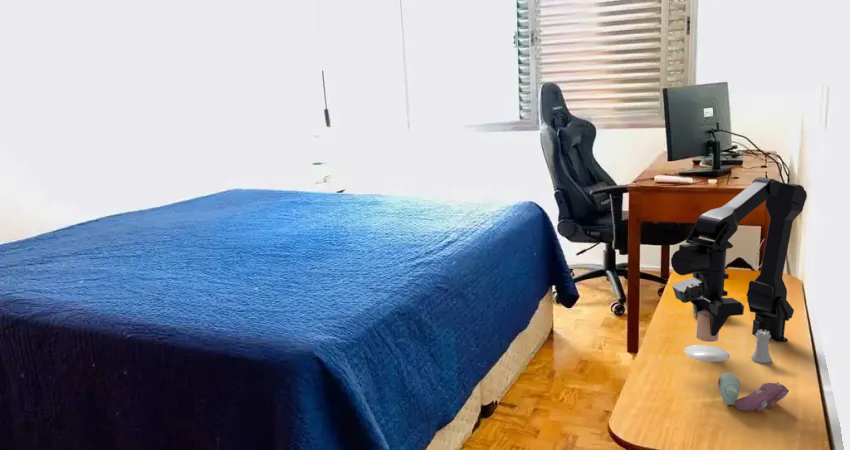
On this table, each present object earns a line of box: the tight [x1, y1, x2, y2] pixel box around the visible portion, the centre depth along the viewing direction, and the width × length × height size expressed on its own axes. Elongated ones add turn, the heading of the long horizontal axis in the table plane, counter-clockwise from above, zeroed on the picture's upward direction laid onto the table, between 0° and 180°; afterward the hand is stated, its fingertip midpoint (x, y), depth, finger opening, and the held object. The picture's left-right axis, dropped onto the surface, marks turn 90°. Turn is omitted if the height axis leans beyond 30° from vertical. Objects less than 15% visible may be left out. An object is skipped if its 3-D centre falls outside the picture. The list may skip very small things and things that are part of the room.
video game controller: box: [734, 381, 790, 413], centre depth 135 cm, size 10×5×7 cm, turn 118°
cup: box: [695, 310, 720, 343], centre depth 158 cm, size 5×5×7 cm
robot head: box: [717, 372, 741, 406], centre depth 136 cm, size 8×4×7 cm, turn 157°
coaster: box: [684, 344, 731, 363], centre depth 160 cm, size 10×10×1 cm
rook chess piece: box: [750, 330, 772, 364], centre depth 155 cm, size 4×4×8 cm
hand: (707, 331), depth 159 cm, fingers closed on cup, 5 cm apart
